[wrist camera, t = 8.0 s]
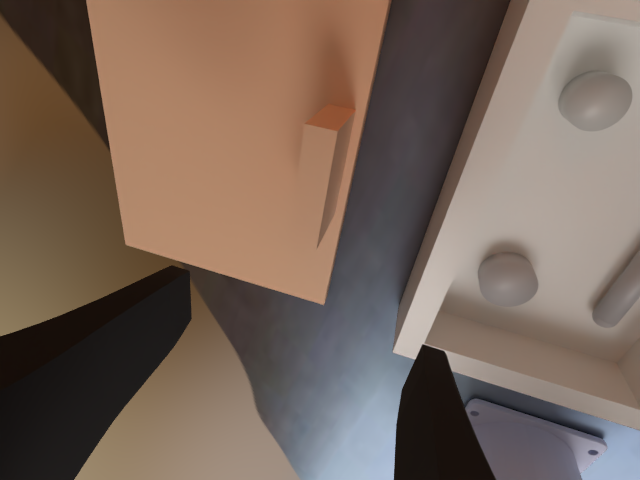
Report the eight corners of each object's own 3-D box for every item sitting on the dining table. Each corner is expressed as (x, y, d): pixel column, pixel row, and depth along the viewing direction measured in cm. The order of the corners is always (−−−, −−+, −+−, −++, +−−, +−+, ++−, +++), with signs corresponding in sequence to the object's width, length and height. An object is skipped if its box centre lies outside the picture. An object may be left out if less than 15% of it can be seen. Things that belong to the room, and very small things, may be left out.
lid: (329, 291, 23) (306, 349, 19) (139, 234, 24) (81, 277, 20) (407, -65, 13) (395, -100, 9) (92, -114, 15) (-30, -160, 11)
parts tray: (621, 373, 20) (653, 434, 17) (398, 306, 21) (392, 352, 18) (941, 31, 11) (1122, 36, 8) (523, -36, 13) (549, -51, 10)
